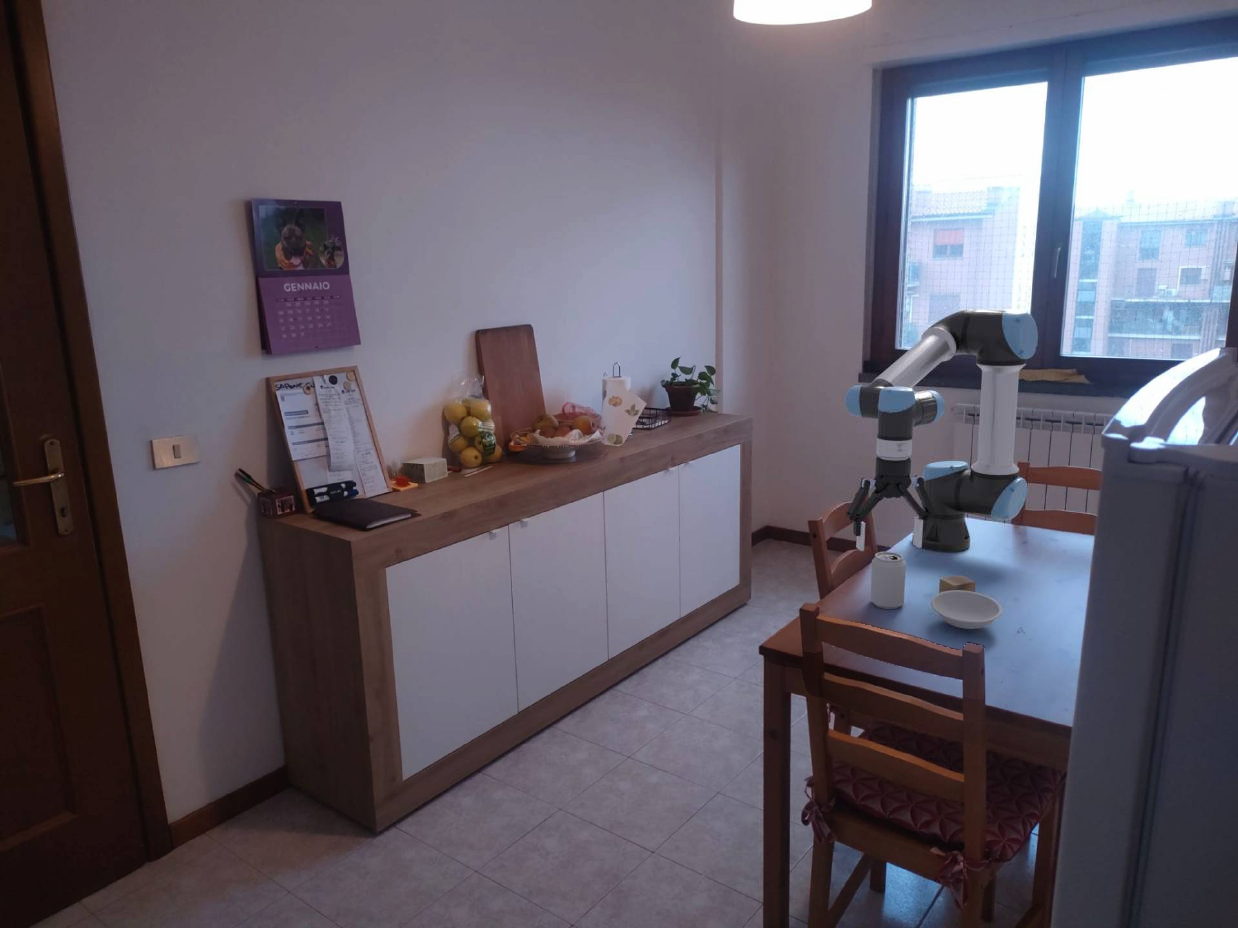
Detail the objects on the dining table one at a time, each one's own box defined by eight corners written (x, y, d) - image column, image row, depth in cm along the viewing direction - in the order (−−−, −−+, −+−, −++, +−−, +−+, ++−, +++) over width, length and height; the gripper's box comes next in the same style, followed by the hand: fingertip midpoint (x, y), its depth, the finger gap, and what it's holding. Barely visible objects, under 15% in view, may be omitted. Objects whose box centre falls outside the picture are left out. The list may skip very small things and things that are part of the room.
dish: (1003, 647, 176) (1005, 625, 175) (929, 639, 181) (930, 617, 180) (998, 614, 192) (999, 593, 191) (929, 607, 197) (931, 587, 196)
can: (905, 611, 195) (908, 561, 192) (871, 609, 197) (873, 560, 194) (902, 598, 202) (904, 550, 199) (868, 597, 204) (870, 549, 201)
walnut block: (959, 590, 206) (960, 574, 206) (974, 598, 202) (975, 582, 201) (938, 594, 205) (939, 578, 204) (952, 601, 200) (953, 585, 199)
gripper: (845, 462, 186) (842, 555, 191) (955, 457, 189) (948, 549, 194) (833, 455, 194) (830, 545, 198) (939, 451, 196) (933, 539, 201)
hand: (888, 547), depth 196 cm, fingers open, 13 cm apart
